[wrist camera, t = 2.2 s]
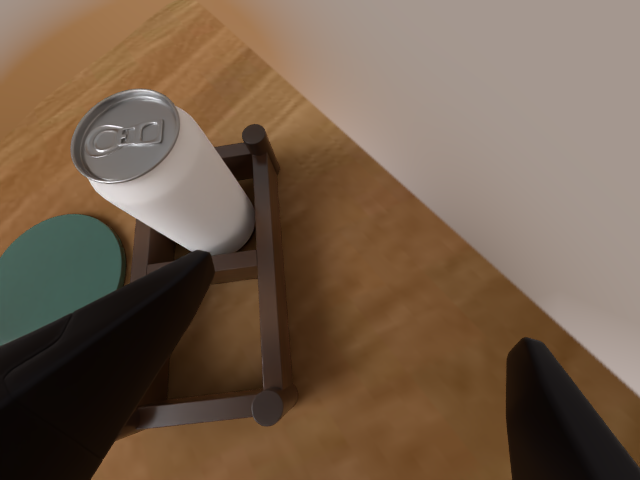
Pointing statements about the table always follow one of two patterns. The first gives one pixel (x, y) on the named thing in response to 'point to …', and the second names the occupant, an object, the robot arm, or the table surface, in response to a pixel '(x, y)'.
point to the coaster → (57, 272)
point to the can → (162, 171)
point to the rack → (261, 263)
